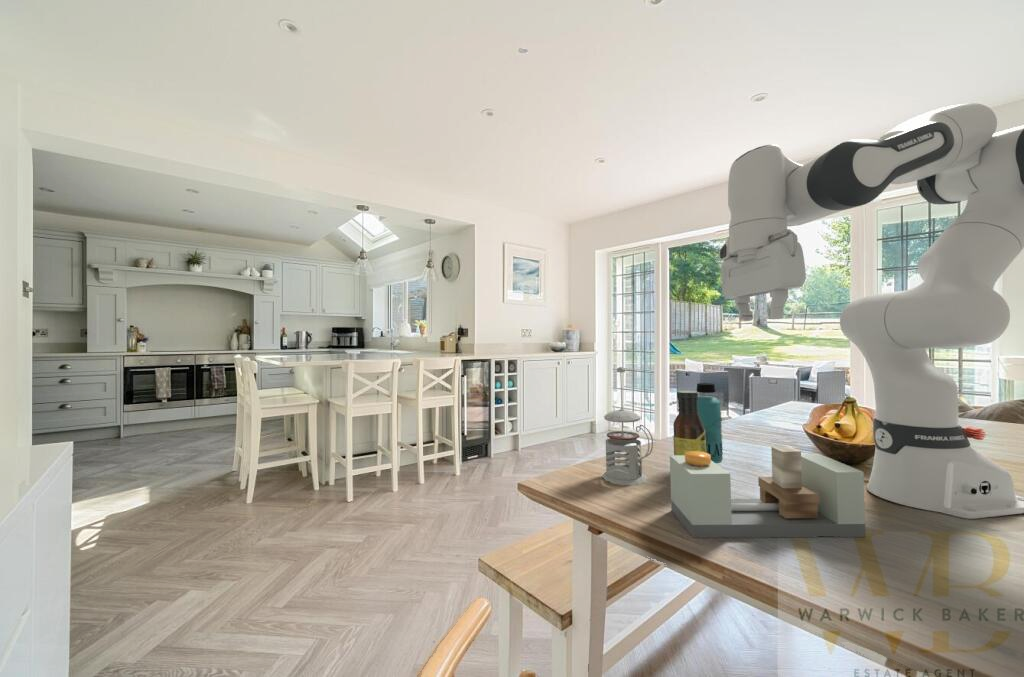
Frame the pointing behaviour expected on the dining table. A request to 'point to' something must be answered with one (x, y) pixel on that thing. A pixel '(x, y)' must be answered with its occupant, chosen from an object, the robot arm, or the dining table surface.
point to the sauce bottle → (688, 425)
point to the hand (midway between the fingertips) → (759, 320)
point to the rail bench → (715, 514)
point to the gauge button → (697, 458)
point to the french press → (624, 449)
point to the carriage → (788, 486)
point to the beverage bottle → (711, 421)
